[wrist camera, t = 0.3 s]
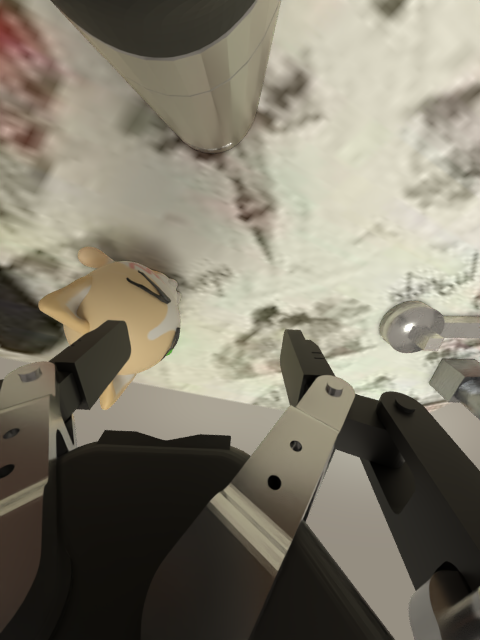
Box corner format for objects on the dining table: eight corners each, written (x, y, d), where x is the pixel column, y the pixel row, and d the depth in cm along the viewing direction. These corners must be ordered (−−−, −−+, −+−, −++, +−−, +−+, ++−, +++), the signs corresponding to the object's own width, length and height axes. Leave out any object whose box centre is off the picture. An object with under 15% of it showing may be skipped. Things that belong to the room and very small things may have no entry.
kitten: (205, 336, 33) (183, 426, 20) (140, 344, 34) (77, 437, 21) (178, 229, 26) (117, 259, 13) (96, 242, 27) (-41, 282, 14)
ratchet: (388, 300, 31) (416, 319, 26) (545, 302, 31) (602, 321, 26) (373, 342, 34) (395, 366, 29) (515, 344, 34) (561, 367, 29)
